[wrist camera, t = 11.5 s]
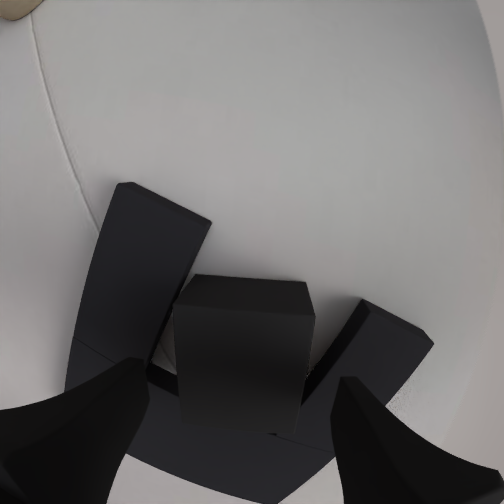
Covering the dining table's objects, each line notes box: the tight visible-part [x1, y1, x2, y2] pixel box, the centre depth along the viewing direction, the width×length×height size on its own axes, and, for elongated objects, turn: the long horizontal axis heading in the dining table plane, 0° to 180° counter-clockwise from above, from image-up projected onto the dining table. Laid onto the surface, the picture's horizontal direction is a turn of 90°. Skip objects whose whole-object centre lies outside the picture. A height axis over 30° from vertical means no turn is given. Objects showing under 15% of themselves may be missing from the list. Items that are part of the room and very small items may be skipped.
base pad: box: [64, 182, 434, 504], centre depth 15 cm, size 16×16×2 cm
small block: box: [173, 274, 316, 434], centre depth 13 cm, size 6×5×4 cm
